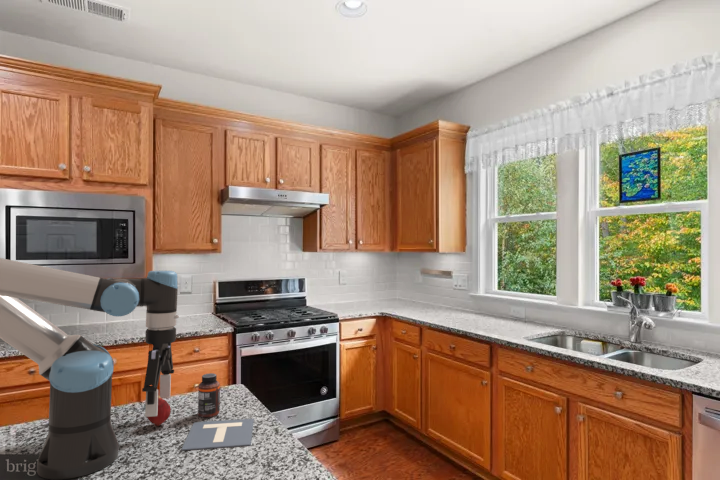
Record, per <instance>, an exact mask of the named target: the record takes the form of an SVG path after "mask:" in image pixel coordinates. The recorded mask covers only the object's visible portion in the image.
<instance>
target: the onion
mask: <svg viewBox="0 0 720 480" xmlns="http://www.w3.org/2000/svg"><path fill="white" fill-rule="evenodd" d="M171 412H172V409H171V405H170V404H169V403H168V402H167V400H165V398H161V397H160V395H158V413H157V416H152V417H146V418H147V419H148V421H149V423H152V424H153V425H155V426H156V427H159V426H161V425H163V423H165V422H166V421H167V420H168V419H169V417H170V416H171Z"/></svg>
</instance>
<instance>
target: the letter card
mask: <svg viewBox="0 0 720 480" xmlns="http://www.w3.org/2000/svg"><path fill="white" fill-rule="evenodd" d="M254 423H255V419H254V418H243V419H242V418H240V419H238V418H237V419H224V420H211V421H210V420H207V421H194V422H193V423H192V425H191V428H190V430H189V432H188V434H187V437H186V438H185V440H184V443H183V445H182V447H181V451H193V450H207V449H208V450H209V449H219V448H222V449H223V448H234V447H236V448H237V447H246V446H249V447H251V446H252V439H253V429H254Z"/></svg>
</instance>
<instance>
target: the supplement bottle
mask: <svg viewBox="0 0 720 480" xmlns="http://www.w3.org/2000/svg"><path fill="white" fill-rule="evenodd" d="M197 387H198V388H197V390H198V391H197V393H198V395H197V402H198V403H197V415H198V416H199V417H200V418H212V417H213V418H214V417H216V416H217V415H219V414H220V410H221V409H220V408H221V407H220V405H221V399H220V398H221V396H220V395H221V390H220V389H221V384H220V382H219V381H218V380H217V374H216V373H211V372H210V373H205V374H202V375H201V382H200V383H199V384H198V386H197Z"/></svg>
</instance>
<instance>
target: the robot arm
mask: <svg viewBox="0 0 720 480" xmlns="http://www.w3.org/2000/svg"><path fill="white" fill-rule="evenodd" d="M178 289H179V287H178V273H177V272H176V271H174V270H149V271H148V272H147V276H146V277H143V278H113V277H110V278H103V277H98V276H93V275H88V274H84V273H78V272H73V271H68V270H63V269H58V268H52V267H48V266H43V265H36V264H31V263H27V262H22V261H16V260H11V259H8V258H7V259H6V258H2V257H0V340H2V341H3V342H5V343H7V344H8V345H9V346H11V347H12V348H14V349H15V350H16V351H18V352H20V353H21V354H23V355H24V356H25V357H27V358H28V359H30V360H31V361H33V362H34V363H35V364H37V366H38V375H40V376H41V377H43V378H44V379H46V380H47V381H48V382H49V406H48V407H49V408H48V410H49V411H48V433H47V436H46V438H45V441H44V443H43V446H42V449H41V451H40V454H39V456H38V458H37V462H36V463H37V464H36V473H37V475H38V476H39V477H40V478H42V479H45V480H70V479H74V478H79V477H83V476H86V475H90V474H93V473H95V472H99V471H101V470H102V469H104V468H106V467H108V466H110V465H111V464H113V463H114V462H115V461H116V460H117V459H118V457H119V448H120V446H119V442H118V439H117V436H116V434H115V433H116V432H115V431H114V428H113V425H112V420H111V419H112V393H113V392H112V391H113V390H112V387H113V384H112V383H113V374H114V368H115V367H114V360H113V358H112V355H111V354H110V352H109V351H108V350H107V349H106V348H105V347H102V346H101V345H98V344H93V343H92V342H90V341H89V340H88V339H87V338H85V337H83V336H82V335H81V334H72V335H71V334H68V333H66V332H65V331H64V330H62V329H61V328H59V327H58V325H56V324H54V323H52V322H51V321H50V320H49V319H47V318H46V317H44V316H43V315H42V314H41V313H40V312H39V313H38V312H37V311H36V310H34V309H33V308H32V307H31V306H29V305H28V304H26V303H25V302H24V301H22V300H28V301H33V302H34V301H35V302H40V303H48V304H53V305H58V306H59V305H61V306H67V307H71V308H72V307H73V308H77V309H78V308H79V309H84V310H90V311H93V312H100V313H106V314H107V315H109V316H113V317H125V316H128V315H130V314H131V313H133V312H134V311H135V309H136V308H137V307H139V308H141V307H146V311H145V327H146V330H145V338H144V339H145V340H144V341H145V343H146V344H148V345H152V349H151V350H148V357H147V364H146V365H147V366H146V371H145V376H144V384H143V388H142V392H145V406H144V407H145V409H144V410H145V413H144V417H145V418H147V417H152V416H157V413H158V396H160V397H161V398H162V399H169V398H171V387H172V386H171V385H172V384H171V383H172V375H173V374H174V373H175V369H174V362H173V353H172V343H174V342H175V341H176V339H177V328H176V327H175V326H176V325H177V319H179V314H177V311H178V310H177V308H178ZM21 299H22V300H21ZM158 386H159V389H158Z"/></svg>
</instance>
